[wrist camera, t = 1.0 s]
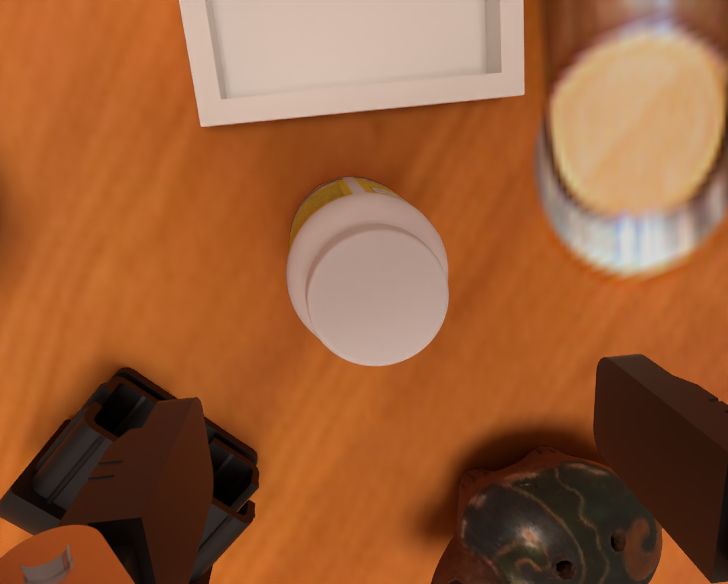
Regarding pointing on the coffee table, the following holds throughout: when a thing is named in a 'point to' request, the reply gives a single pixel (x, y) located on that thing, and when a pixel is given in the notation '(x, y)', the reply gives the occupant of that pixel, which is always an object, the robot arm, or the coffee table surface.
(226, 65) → the tray
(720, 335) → the coffee table surface
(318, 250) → the pill bottle
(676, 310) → the coffee table surface
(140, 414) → the end cap
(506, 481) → the decorative turtle
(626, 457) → the robot arm
